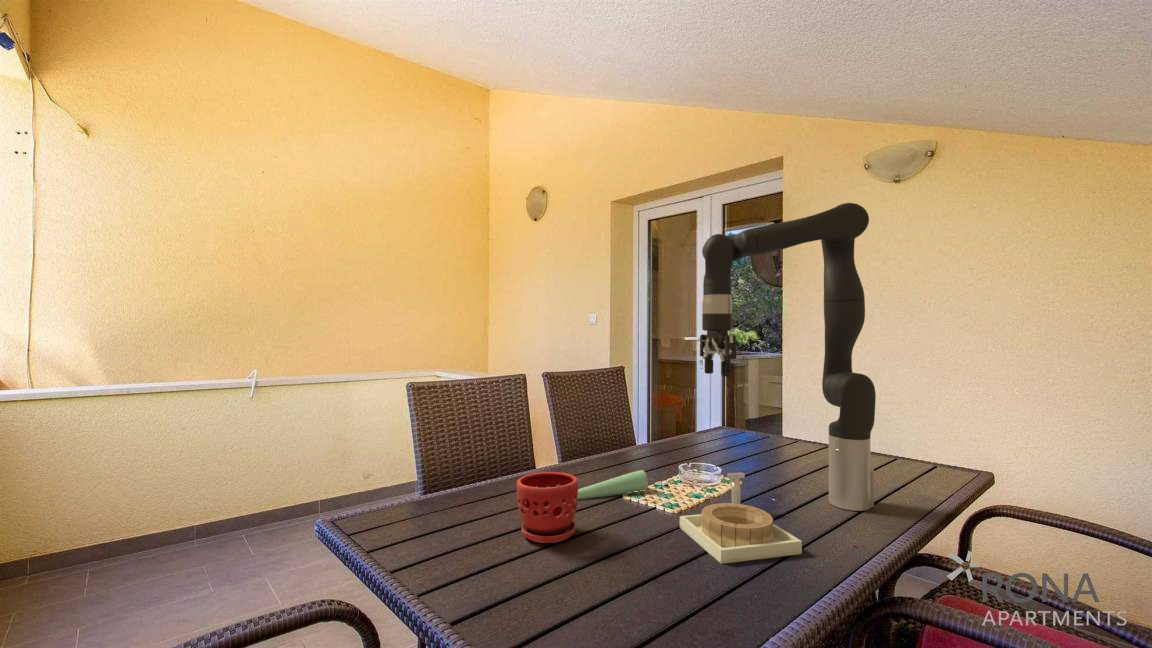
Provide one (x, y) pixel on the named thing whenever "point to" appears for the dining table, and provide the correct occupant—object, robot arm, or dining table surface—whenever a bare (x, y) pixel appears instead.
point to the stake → (735, 486)
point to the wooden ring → (737, 525)
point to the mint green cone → (616, 486)
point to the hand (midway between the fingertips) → (717, 374)
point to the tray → (779, 547)
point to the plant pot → (547, 506)
